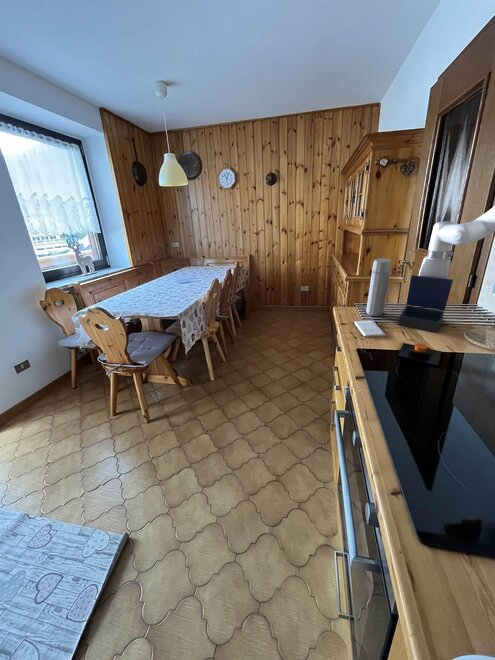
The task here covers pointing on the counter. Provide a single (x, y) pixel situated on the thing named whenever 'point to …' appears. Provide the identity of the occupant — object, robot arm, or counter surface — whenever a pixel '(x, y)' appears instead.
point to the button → (421, 348)
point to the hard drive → (369, 328)
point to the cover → (429, 292)
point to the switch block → (420, 355)
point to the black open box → (421, 318)
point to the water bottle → (378, 287)
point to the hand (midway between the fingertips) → (427, 297)
